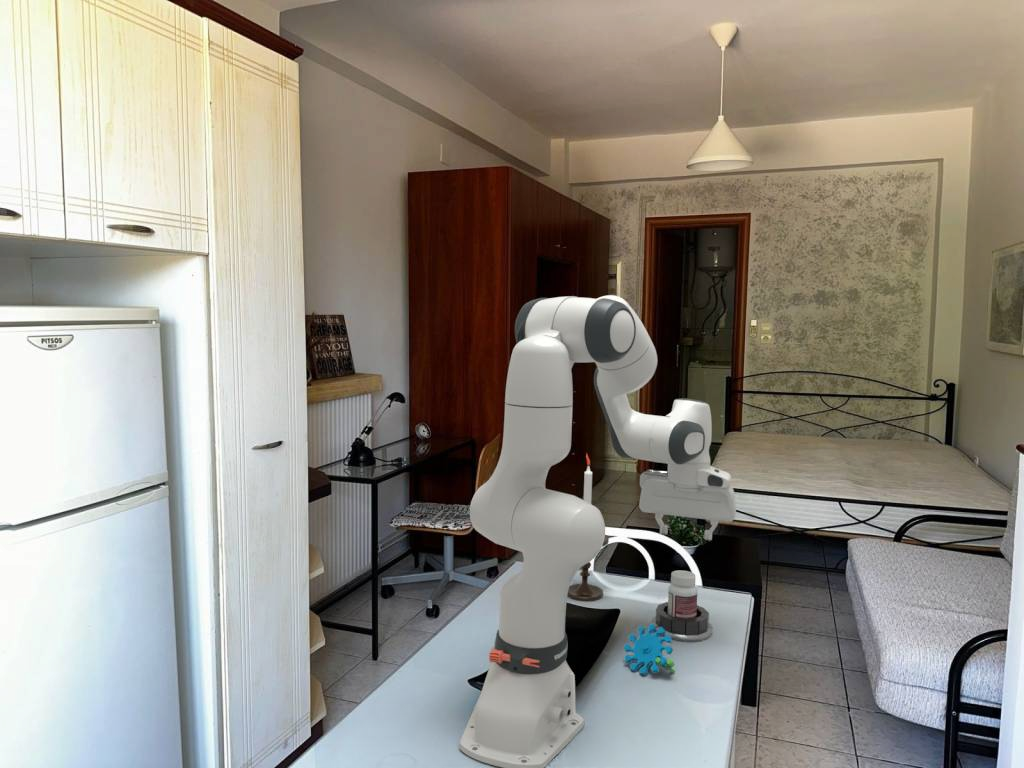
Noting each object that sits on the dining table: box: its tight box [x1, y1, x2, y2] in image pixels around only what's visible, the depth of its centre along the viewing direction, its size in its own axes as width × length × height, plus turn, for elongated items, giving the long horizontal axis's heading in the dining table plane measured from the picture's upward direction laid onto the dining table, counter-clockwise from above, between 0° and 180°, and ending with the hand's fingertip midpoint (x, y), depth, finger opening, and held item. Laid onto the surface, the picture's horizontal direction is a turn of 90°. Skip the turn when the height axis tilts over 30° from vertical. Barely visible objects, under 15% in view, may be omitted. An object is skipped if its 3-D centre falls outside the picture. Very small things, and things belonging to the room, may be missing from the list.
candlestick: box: [567, 453, 610, 602], centre depth 175 cm, size 11×11×35 cm
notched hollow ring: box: [651, 601, 714, 643], centre depth 157 cm, size 13×13×4 cm
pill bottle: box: [667, 570, 698, 619], centre depth 157 cm, size 6×6×11 cm
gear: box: [623, 623, 676, 676], centre depth 140 cm, size 11×6×10 cm
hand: (685, 536), depth 156 cm, fingers open, 8 cm apart
